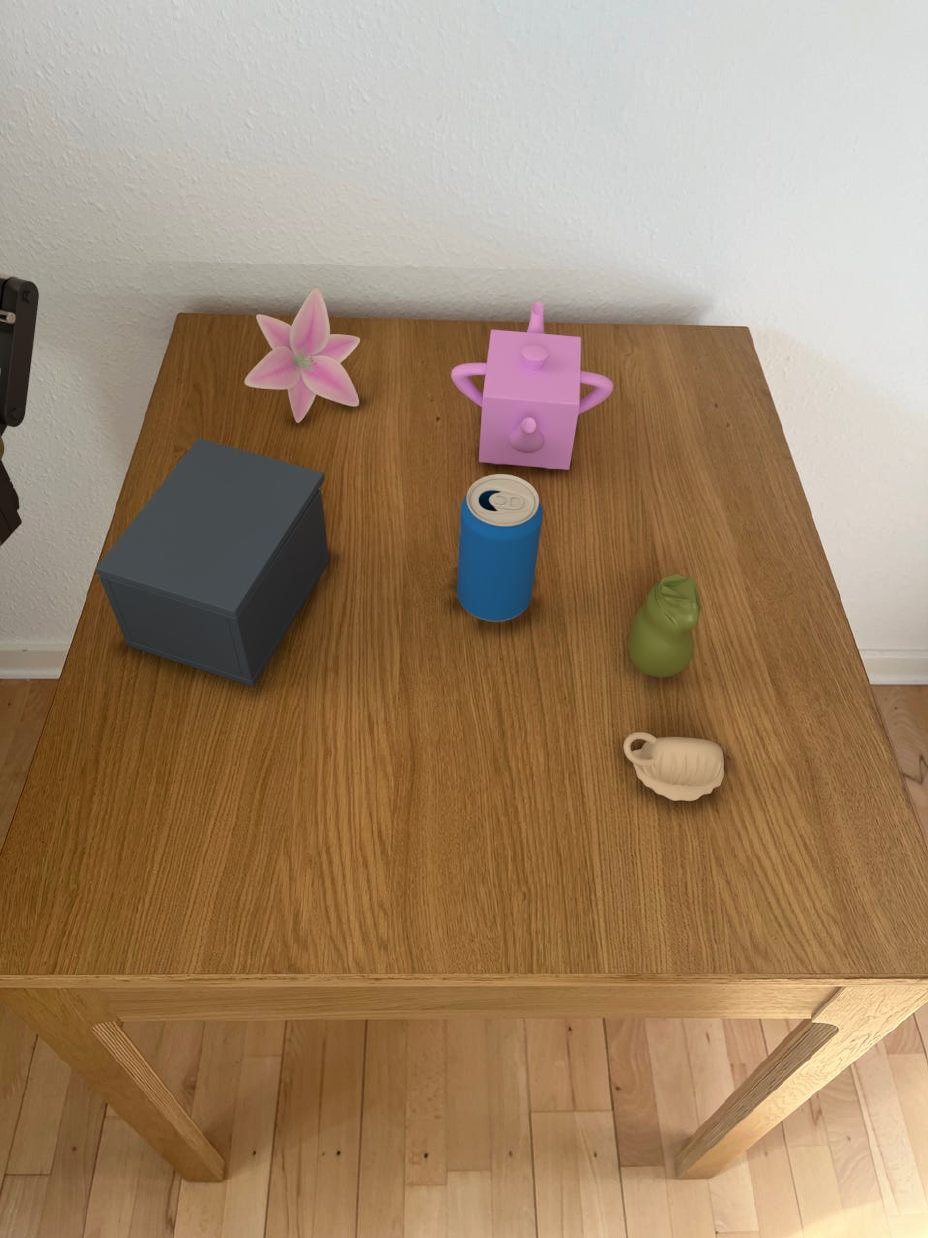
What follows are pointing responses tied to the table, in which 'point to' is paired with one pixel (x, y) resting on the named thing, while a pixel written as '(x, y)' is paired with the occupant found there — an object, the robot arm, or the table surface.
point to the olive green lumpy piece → (665, 627)
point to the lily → (305, 358)
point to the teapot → (530, 395)
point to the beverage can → (498, 547)
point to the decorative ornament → (677, 765)
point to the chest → (219, 637)
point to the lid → (212, 527)
